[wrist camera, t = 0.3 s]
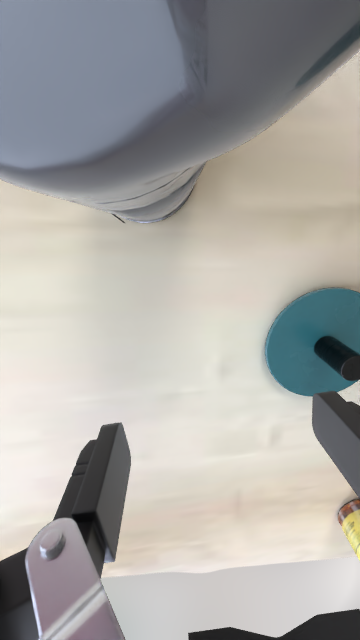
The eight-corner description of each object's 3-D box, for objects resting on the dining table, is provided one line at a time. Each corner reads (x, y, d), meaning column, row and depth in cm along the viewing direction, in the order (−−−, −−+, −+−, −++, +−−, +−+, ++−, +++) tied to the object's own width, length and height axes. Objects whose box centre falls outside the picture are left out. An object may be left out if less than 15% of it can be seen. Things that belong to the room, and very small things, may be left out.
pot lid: (260, 296, 27) (284, 314, 21) (382, 276, 27) (439, 289, 21) (265, 397, 31) (286, 435, 26) (371, 381, 31) (415, 415, 25)
